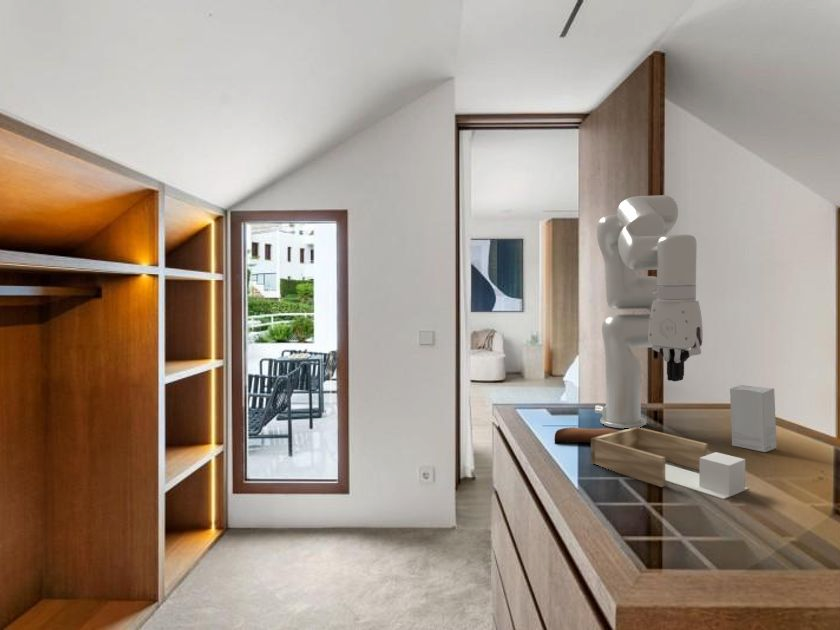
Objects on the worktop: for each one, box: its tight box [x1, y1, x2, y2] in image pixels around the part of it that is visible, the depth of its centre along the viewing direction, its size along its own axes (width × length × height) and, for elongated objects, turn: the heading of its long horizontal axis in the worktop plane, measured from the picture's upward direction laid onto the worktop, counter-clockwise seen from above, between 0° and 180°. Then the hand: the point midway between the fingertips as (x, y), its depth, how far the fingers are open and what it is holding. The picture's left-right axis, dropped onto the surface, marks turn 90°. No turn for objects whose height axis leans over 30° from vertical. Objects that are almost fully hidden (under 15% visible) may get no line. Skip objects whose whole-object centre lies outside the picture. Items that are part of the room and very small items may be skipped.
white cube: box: [698, 451, 746, 496], centre depth 115 cm, size 6×6×6 cm
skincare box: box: [729, 384, 777, 453], centre depth 141 cm, size 8×6×15 cm
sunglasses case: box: [554, 426, 619, 444], centre depth 150 cm, size 18×7×7 cm
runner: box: [665, 463, 749, 500], centre depth 123 cm, size 26×9×1 cm, turn 33°
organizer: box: [590, 427, 709, 488], centre depth 129 cm, size 16×18×6 cm
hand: (675, 379), depth 122 cm, fingers closed
